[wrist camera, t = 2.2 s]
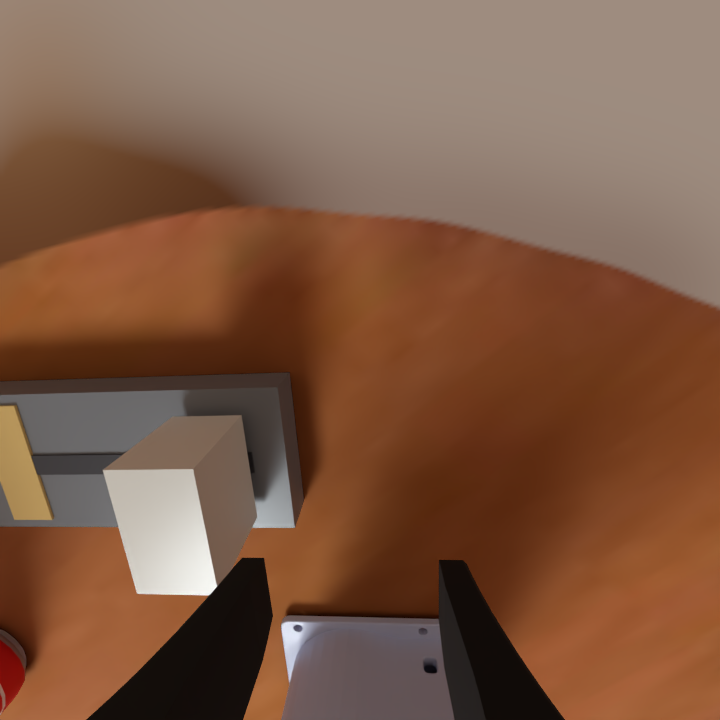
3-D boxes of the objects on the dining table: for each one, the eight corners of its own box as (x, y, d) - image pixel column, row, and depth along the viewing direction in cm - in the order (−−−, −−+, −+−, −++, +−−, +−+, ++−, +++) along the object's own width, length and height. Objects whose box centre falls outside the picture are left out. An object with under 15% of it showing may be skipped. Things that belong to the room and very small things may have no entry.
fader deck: (289, 372, 17) (276, 388, 15) (304, 500, 19) (294, 529, 17) (-22, 382, 19) (-72, 398, 17) (21, 500, 21) (-20, 528, 19)
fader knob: (241, 415, 15) (192, 469, 12) (257, 517, 17) (218, 595, 13) (172, 416, 16) (102, 470, 12) (193, 516, 17) (137, 593, 13)
